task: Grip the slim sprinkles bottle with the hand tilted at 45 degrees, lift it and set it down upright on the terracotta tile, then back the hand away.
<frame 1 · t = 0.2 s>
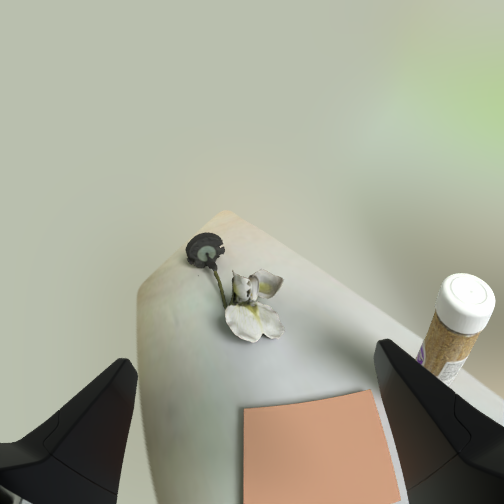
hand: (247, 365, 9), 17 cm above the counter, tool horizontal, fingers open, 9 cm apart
artificial flower: (235, 297, 40), on the counter
sprinkles bottle: (418, 397, 20), on the counter
terracotta tile: (316, 461, 17), on the counter
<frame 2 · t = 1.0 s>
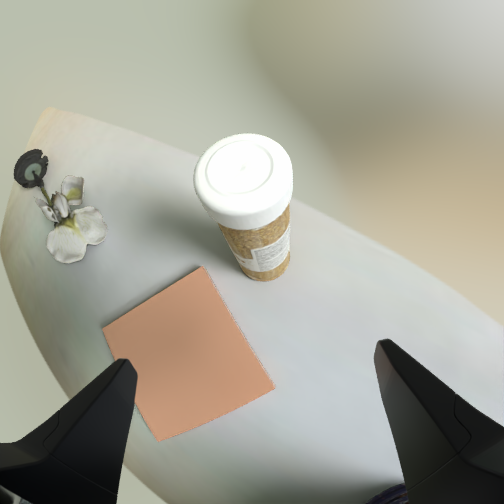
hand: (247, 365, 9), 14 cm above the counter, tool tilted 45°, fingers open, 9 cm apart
artificial flower: (66, 204, 31), on the counter
sprinkles bottle: (265, 258, 24), on the counter
terracotta tile: (181, 359, 22), on the counter
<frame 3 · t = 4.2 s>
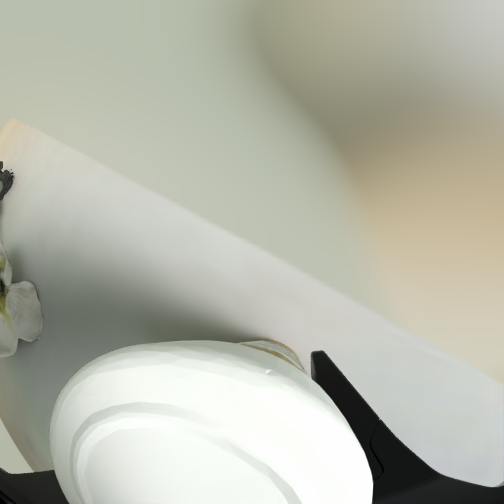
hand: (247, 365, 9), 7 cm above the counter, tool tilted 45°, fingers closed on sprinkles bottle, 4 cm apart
artificial flower: (15, 251, 21), on the counter
sprinkles bottle: (265, 377, 15), on the counter, touching gripper
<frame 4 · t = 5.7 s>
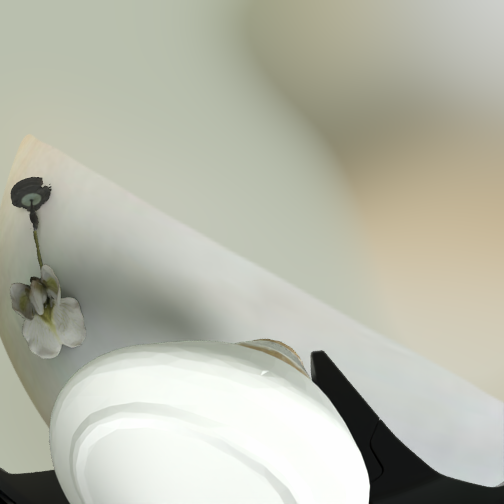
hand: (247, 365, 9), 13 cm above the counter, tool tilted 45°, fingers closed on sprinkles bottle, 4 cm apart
artificial flower: (56, 264, 27), on the counter
sprinkles bottle: (266, 376, 15), point 6 cm above the counter, touching gripper
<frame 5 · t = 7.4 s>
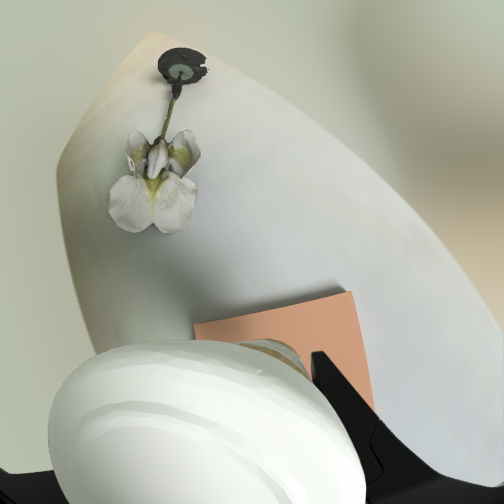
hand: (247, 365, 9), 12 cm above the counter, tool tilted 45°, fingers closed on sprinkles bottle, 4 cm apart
artificial flower: (180, 143, 27), on the counter
sprinkles bottle: (267, 376, 15), point 5 cm above the counter, touching gripper
terracotta tile: (287, 386, 19), on the counter
when the fingers open (9 cm above the counter, at t = 8.3 s): sprinkles bottle drops 1 cm, resting on terracotta tile.
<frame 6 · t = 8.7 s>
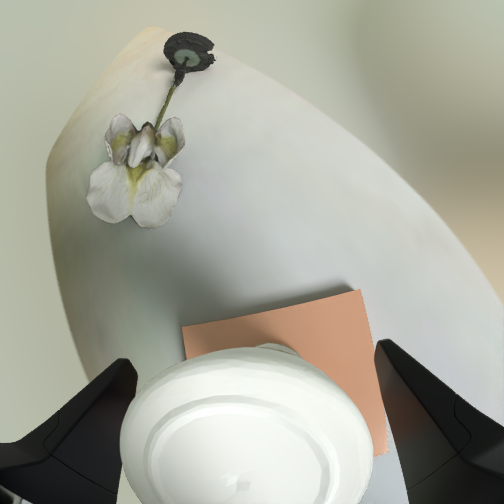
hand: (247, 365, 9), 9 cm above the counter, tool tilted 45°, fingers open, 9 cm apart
artificial flower: (176, 132, 25), on the counter
sprinkles bottle: (271, 376, 16), point 1 cm above the counter, touching terracotta tile
terracotta tile: (288, 397, 16), on the counter
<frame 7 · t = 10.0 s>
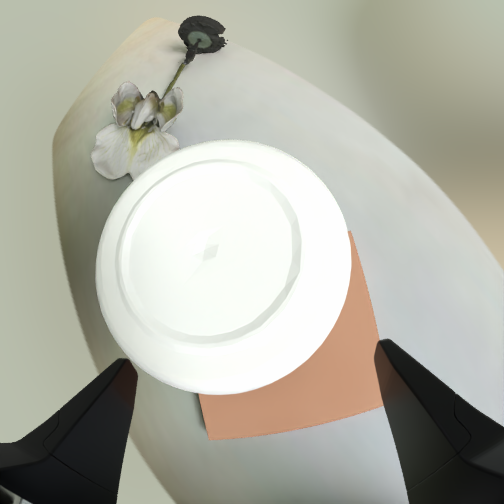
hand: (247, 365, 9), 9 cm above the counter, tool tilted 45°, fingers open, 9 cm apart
artificial flower: (181, 104, 26), on the counter
sprinkles bottle: (266, 315, 17), point 1 cm above the counter, touching terracotta tile
terracotta tile: (283, 340, 17), on the counter
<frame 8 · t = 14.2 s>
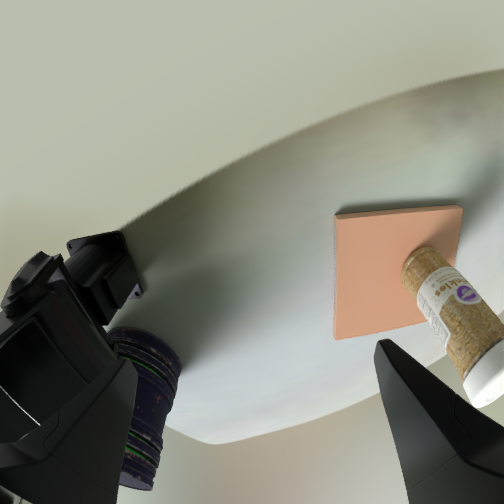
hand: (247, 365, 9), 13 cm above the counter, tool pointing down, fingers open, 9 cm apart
storage jar: (141, 356, 28), on the counter
sprinkles bottle: (419, 267, 21), point 1 cm above the counter, touching terracotta tile
terracotta tile: (397, 273, 22), on the counter
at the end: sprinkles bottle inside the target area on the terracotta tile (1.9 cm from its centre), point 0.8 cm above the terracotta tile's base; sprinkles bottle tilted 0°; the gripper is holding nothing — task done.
